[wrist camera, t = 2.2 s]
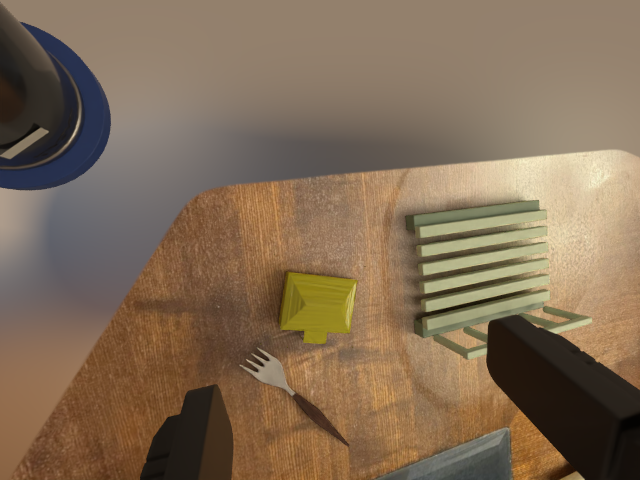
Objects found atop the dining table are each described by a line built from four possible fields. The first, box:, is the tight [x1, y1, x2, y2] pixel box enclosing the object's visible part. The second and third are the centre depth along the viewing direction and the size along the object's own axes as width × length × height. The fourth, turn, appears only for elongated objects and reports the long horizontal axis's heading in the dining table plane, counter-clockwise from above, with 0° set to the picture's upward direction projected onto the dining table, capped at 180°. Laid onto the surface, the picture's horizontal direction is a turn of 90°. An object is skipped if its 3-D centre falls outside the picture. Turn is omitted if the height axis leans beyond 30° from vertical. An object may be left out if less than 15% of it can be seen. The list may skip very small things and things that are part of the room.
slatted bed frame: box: [406, 200, 592, 360], centre depth 36 cm, size 18×14×8 cm
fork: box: [239, 347, 349, 447], centre depth 33 cm, size 3×16×2 cm, turn 42°
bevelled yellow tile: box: [260, 254, 366, 349], centre depth 32 cm, size 10×9×3 cm
